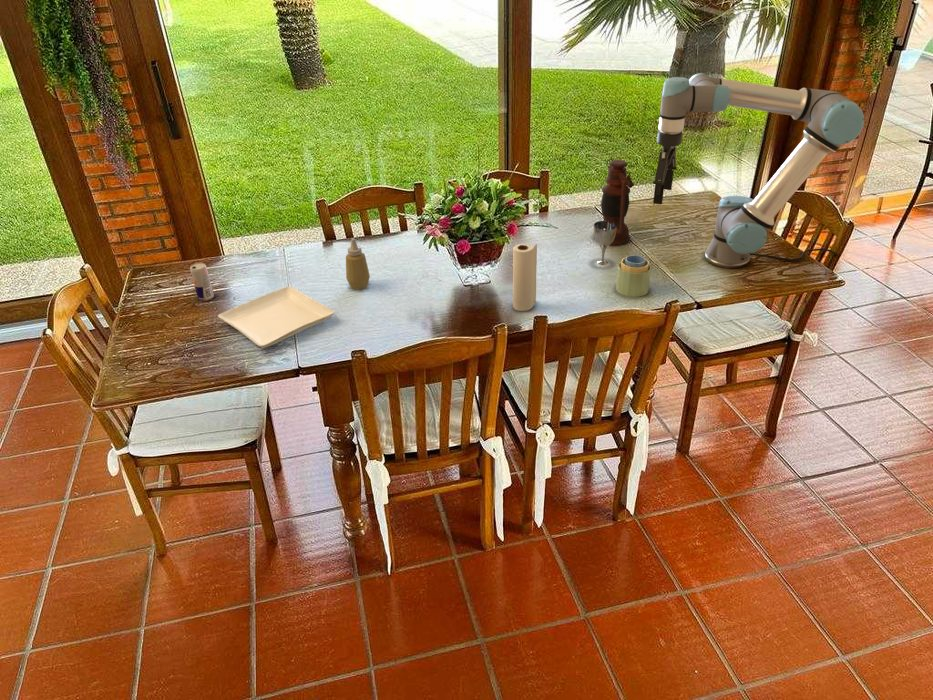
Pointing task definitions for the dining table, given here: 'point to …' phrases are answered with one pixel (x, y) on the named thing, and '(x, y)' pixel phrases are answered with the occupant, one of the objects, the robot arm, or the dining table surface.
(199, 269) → the energy drink
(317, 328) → the dining table surface
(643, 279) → the stack base cup
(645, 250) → the dining table surface
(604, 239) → the wine glass
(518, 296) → the paper towel roll
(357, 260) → the squeeze bottle
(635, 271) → the middle cup
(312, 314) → the square plate
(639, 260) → the top cup
